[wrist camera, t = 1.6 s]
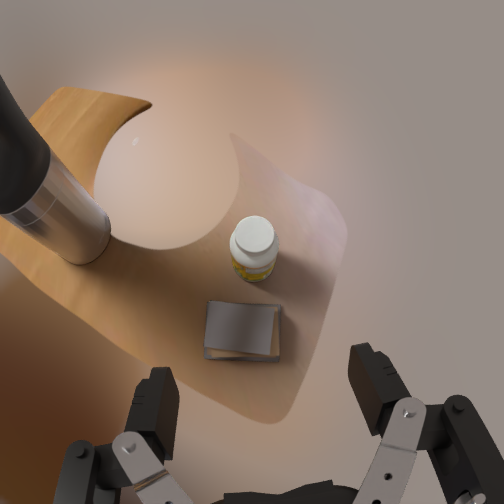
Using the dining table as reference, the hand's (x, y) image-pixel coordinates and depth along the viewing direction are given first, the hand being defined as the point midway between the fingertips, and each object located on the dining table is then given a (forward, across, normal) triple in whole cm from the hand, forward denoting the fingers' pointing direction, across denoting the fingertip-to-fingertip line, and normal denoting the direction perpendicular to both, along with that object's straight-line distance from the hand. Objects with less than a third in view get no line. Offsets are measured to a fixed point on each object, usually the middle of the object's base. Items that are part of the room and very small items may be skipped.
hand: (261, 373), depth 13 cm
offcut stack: (+21, +2, +13) cm, 25 cm away
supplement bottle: (+27, -1, +7) cm, 28 cm away
